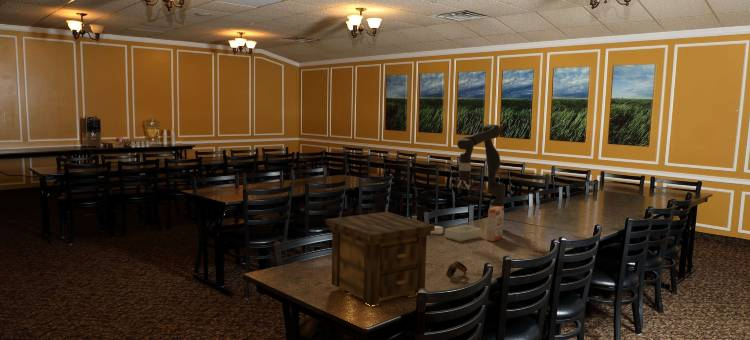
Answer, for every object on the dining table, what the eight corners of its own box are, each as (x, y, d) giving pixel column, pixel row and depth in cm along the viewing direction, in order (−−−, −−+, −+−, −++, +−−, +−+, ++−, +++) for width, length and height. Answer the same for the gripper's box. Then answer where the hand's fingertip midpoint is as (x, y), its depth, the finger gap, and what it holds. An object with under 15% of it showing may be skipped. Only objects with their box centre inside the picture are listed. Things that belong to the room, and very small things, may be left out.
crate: (385, 275, 263) (386, 211, 259) (432, 296, 235) (434, 225, 231) (324, 288, 242) (325, 219, 239) (368, 313, 214) (369, 235, 210)
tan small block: (436, 231, 363) (436, 225, 362) (445, 233, 356) (445, 227, 356) (428, 232, 358) (428, 226, 357) (437, 234, 351) (437, 229, 351)
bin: (445, 237, 344) (445, 228, 343) (466, 233, 357) (466, 225, 356) (459, 241, 334) (460, 232, 334) (480, 237, 347) (481, 228, 347)
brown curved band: (448, 272, 272) (457, 259, 271) (462, 283, 267) (471, 270, 266) (439, 272, 262) (448, 258, 261) (454, 284, 257) (463, 270, 256)
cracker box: (495, 242, 335) (496, 209, 333) (486, 240, 339) (487, 208, 336) (503, 237, 347) (504, 206, 344) (494, 236, 350) (495, 205, 348)
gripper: (477, 170, 335) (476, 195, 337) (460, 168, 346) (460, 192, 348) (469, 171, 330) (468, 196, 332) (452, 168, 341) (452, 193, 343)
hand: (464, 194), depth 340 cm, fingers open, 8 cm apart
